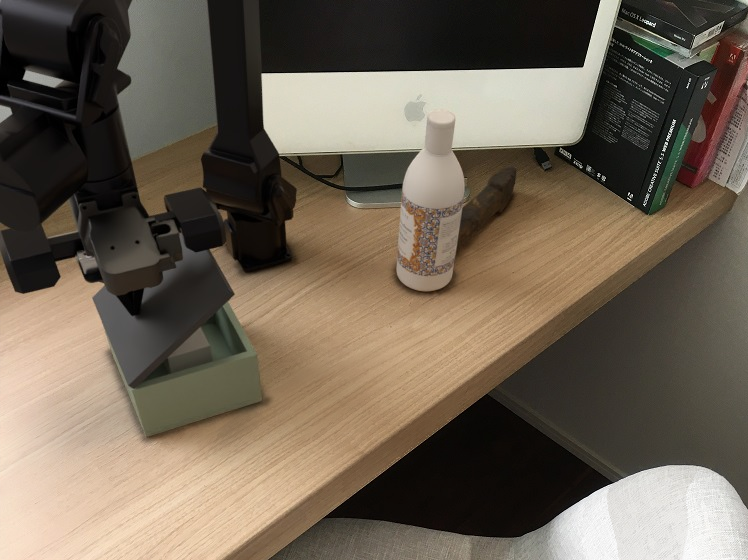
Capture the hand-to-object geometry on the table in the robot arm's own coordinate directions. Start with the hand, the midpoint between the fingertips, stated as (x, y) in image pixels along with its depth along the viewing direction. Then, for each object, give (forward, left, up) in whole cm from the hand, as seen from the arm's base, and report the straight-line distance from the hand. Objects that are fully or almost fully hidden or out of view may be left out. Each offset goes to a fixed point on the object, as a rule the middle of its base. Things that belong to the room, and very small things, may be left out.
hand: (134, 312), depth 76 cm
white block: (-4, 0, -9) cm, 10 cm away
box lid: (-3, 0, +1) cm, 3 cm away
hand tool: (-47, -12, -10) cm, 49 cm away
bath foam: (-36, -5, -10) cm, 37 cm away
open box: (-4, 0, -10) cm, 11 cm away
